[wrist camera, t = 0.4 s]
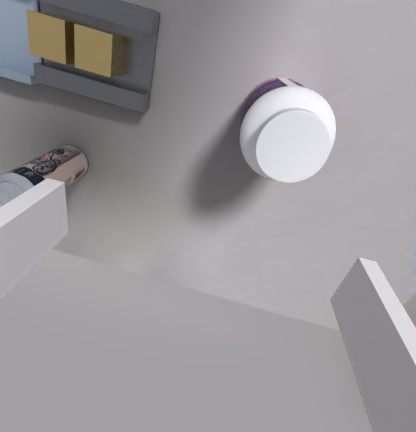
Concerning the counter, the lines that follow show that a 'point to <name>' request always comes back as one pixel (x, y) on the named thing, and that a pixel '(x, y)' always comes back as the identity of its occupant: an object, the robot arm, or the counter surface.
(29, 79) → the chip tray
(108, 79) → the slot rail
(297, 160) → the pill bottle
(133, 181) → the counter surface
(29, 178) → the beer can
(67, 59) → the tan small block
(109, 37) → the block
